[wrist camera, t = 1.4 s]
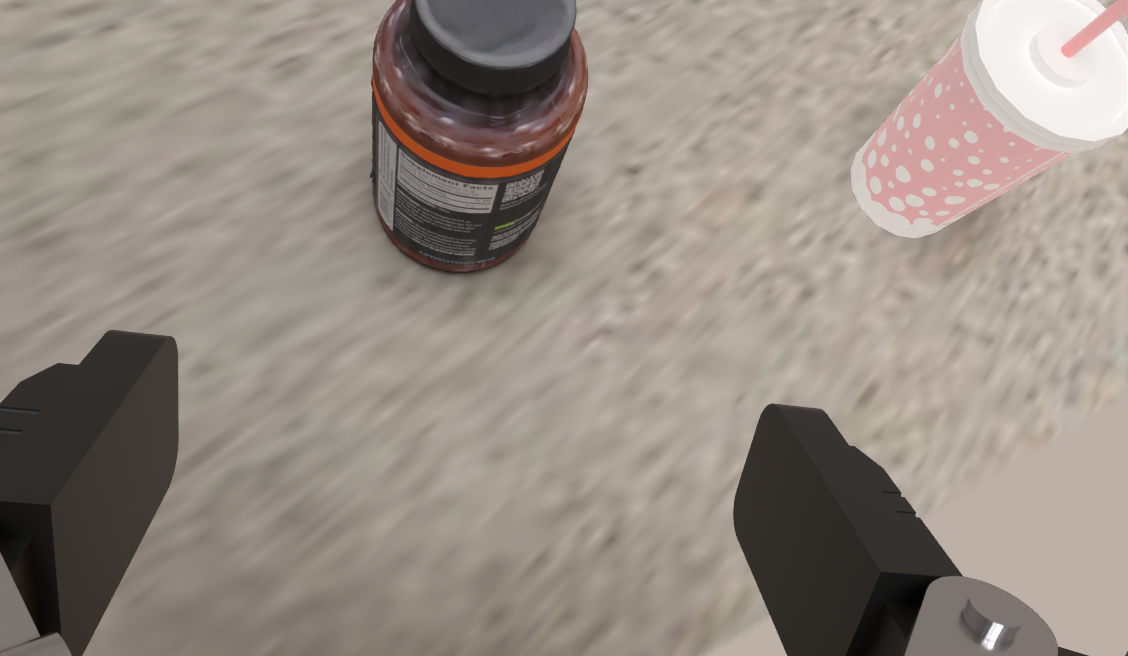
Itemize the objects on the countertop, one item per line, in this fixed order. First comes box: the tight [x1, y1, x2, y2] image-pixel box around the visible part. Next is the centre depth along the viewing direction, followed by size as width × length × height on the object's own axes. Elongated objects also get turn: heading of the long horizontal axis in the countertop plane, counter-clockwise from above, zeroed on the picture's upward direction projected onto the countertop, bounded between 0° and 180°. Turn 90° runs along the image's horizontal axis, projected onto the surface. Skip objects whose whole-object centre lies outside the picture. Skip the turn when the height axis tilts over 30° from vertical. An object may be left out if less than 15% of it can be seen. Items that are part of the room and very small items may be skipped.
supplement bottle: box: [370, 0, 588, 272], centre depth 26 cm, size 6×6×11 cm
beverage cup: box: [850, 0, 1128, 238], centre depth 29 cm, size 6×6×14 cm
